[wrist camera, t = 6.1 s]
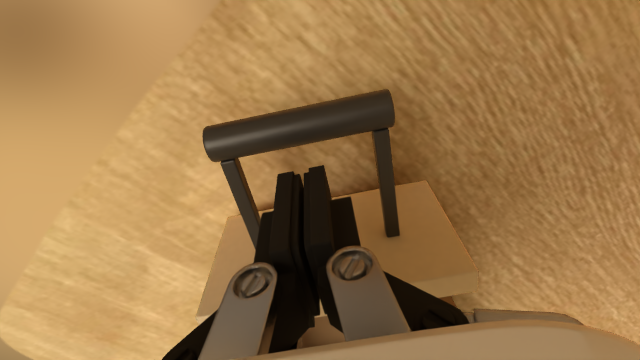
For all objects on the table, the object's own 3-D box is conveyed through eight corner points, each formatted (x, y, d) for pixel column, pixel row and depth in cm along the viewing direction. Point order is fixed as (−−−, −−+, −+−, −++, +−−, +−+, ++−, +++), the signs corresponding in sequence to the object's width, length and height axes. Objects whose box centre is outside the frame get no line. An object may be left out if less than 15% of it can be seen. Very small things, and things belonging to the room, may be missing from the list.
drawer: (179, 106, 16) (109, 180, 10) (420, 54, 15) (489, 103, 10) (286, 352, 27) (280, 458, 21) (433, 330, 26) (470, 434, 20)
